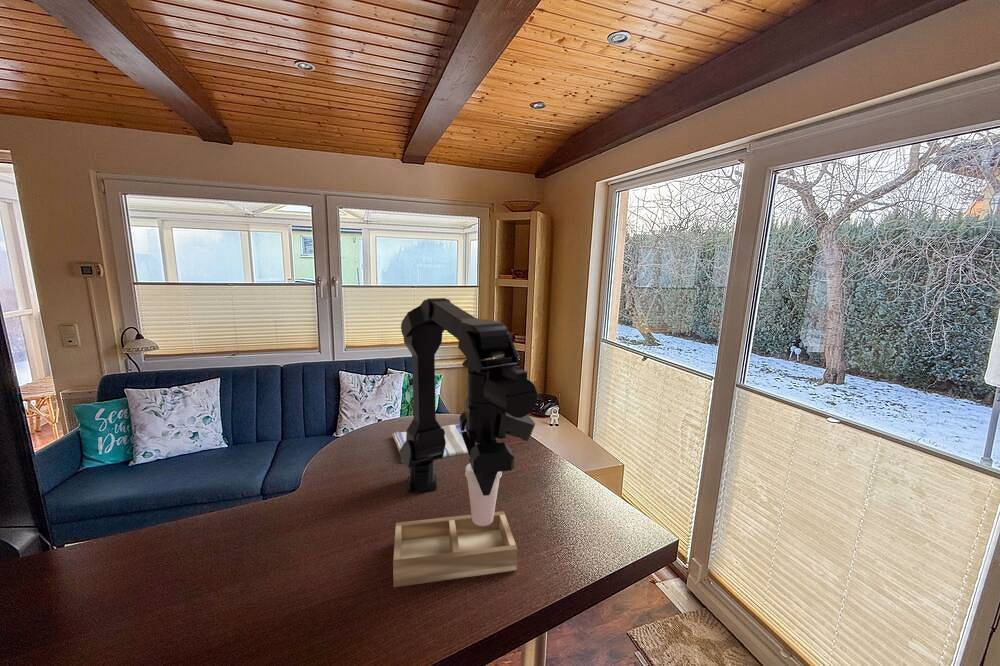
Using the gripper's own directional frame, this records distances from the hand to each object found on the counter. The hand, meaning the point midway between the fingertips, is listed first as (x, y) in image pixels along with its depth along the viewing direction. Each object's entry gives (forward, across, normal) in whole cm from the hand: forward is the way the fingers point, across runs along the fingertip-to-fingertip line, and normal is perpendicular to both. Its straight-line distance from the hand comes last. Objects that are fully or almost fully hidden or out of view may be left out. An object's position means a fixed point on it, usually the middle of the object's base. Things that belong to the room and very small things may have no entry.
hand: (482, 484), depth 70 cm
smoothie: (+7, 0, 0) cm, 7 cm away
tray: (+13, 0, +5) cm, 14 cm away
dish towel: (+14, +45, +5) cm, 48 cm away
